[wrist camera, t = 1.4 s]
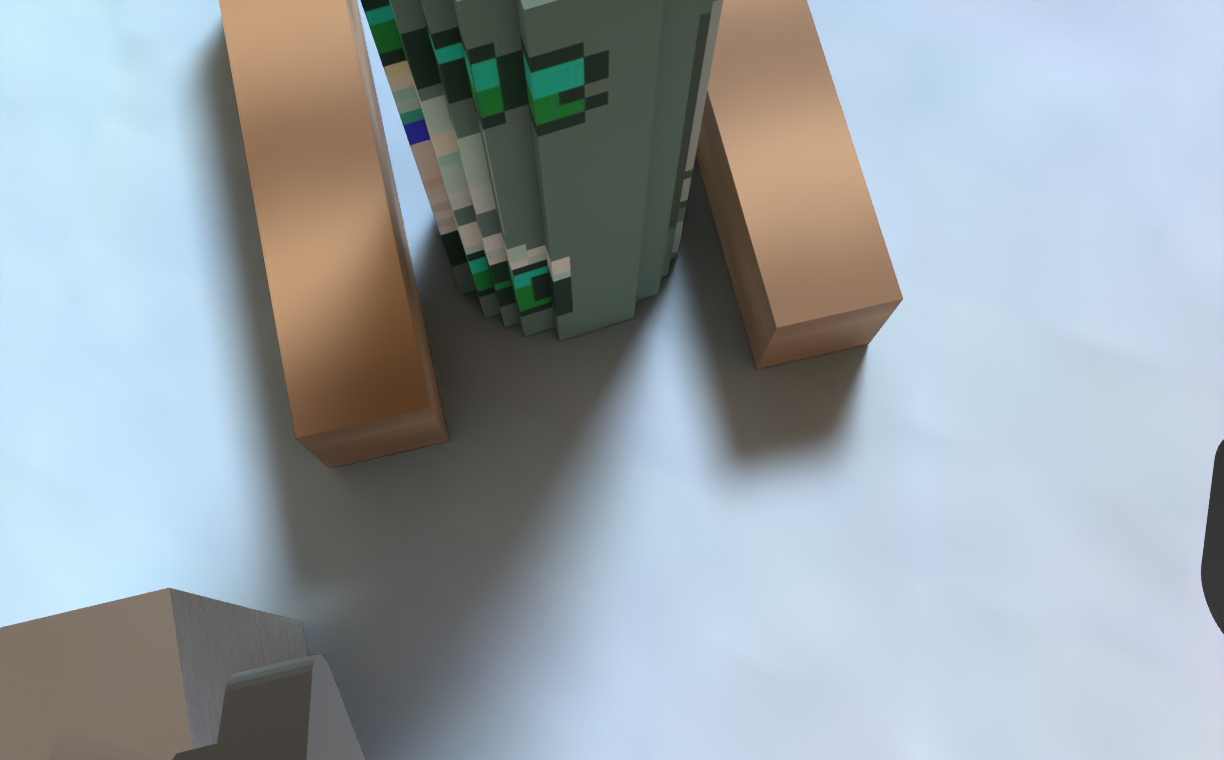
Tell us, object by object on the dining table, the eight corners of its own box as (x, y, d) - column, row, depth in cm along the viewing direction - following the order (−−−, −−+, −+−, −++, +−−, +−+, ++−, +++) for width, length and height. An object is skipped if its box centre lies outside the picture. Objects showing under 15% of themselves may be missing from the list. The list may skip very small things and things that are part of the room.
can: (416, 159, 31) (259, -304, 17) (630, 94, 32) (657, -408, 17) (484, 365, 30) (376, 54, 15) (708, 293, 30) (807, -74, 16)
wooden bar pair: (243, -13, 33) (202, -95, 29) (727, -110, 34) (741, -200, 30) (330, 468, 29) (295, 438, 26) (868, 343, 30) (903, 299, 27)
